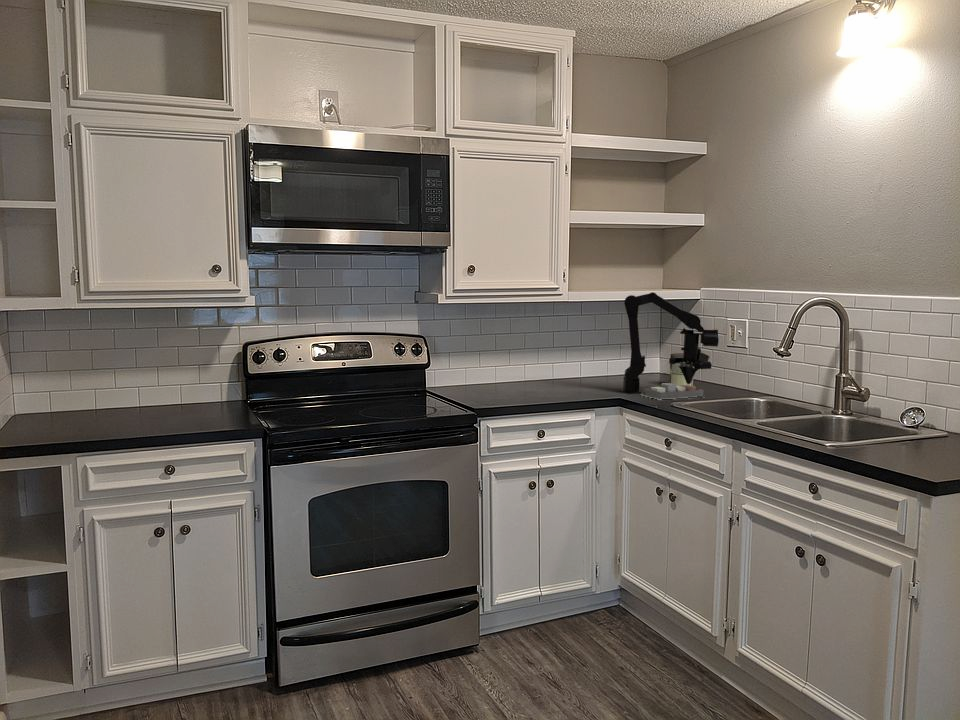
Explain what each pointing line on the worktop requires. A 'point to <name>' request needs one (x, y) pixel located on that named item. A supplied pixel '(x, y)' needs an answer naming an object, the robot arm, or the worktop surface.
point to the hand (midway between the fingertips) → (688, 383)
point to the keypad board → (671, 394)
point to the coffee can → (677, 373)
